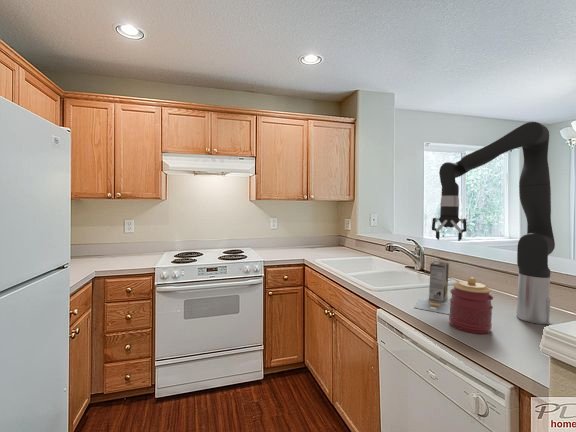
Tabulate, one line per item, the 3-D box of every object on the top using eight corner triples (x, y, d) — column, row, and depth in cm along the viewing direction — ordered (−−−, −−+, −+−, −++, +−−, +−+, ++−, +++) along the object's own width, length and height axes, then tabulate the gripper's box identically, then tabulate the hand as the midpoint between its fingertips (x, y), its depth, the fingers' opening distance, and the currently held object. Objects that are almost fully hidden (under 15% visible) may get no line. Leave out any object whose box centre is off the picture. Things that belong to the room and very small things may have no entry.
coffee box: (432, 293, 144) (434, 261, 143) (447, 296, 140) (449, 262, 139) (428, 298, 136) (429, 263, 136) (443, 301, 132) (445, 265, 132)
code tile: (453, 305, 128) (453, 304, 128) (452, 315, 116) (452, 314, 116) (418, 299, 135) (418, 298, 135) (413, 308, 123) (413, 307, 123)
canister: (501, 333, 100) (504, 281, 99) (468, 336, 97) (471, 283, 97) (470, 318, 113) (472, 272, 112) (440, 320, 110) (442, 273, 109)
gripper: (467, 205, 138) (466, 240, 138) (433, 205, 145) (432, 238, 145) (467, 205, 131) (466, 242, 132) (432, 205, 138) (430, 239, 139)
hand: (448, 240), depth 138 cm, fingers open, 8 cm apart
